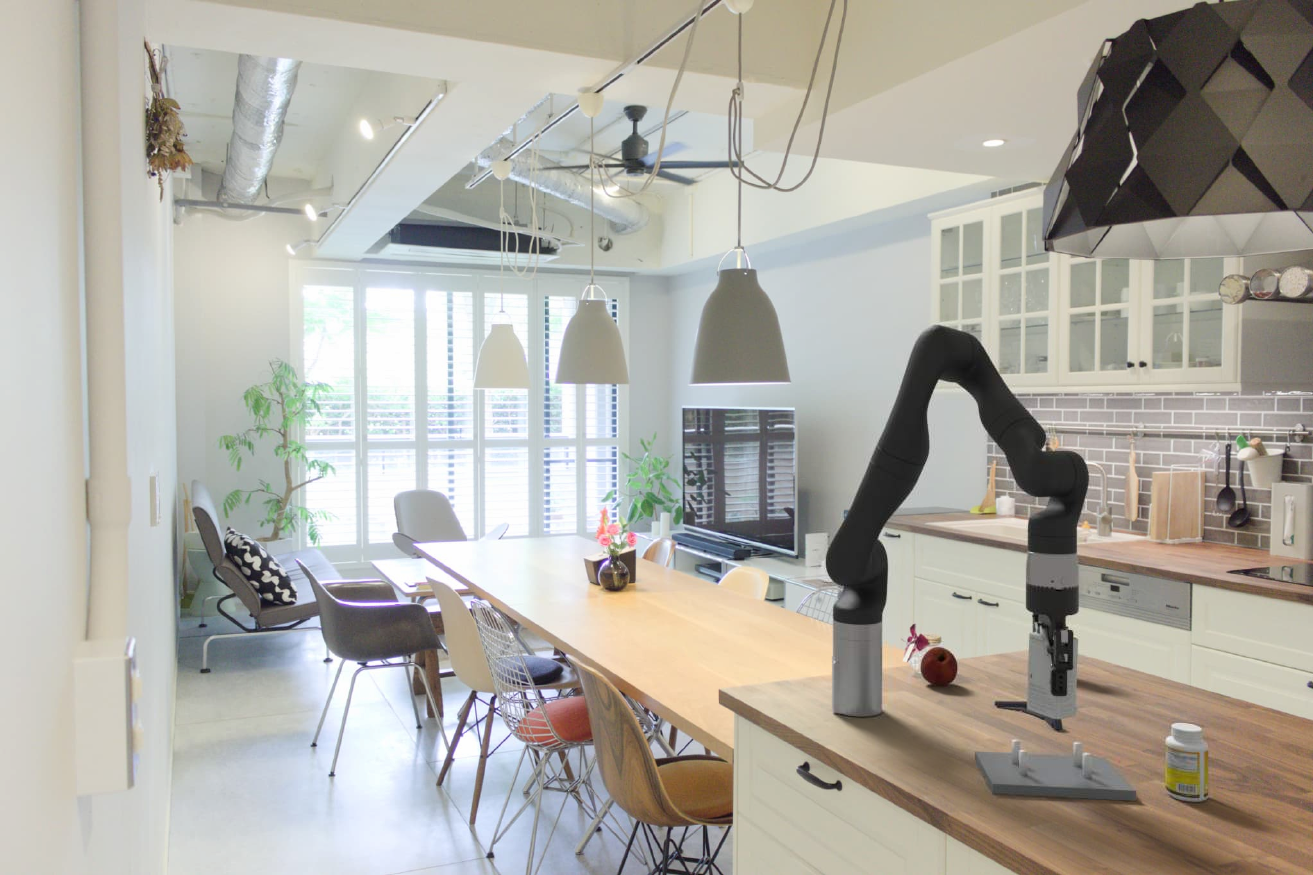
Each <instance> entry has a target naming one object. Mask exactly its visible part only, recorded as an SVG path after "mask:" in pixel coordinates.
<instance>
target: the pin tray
mask: <svg viewBox="0 0 1313 875" xmlns="http://www.w3.org/2000/svg"><path fill="white" fill-rule="evenodd" d="M974 762H975V763H976V766H977V768H978V770H979V771H980V773H981V775H982V777H983V779H984V780H985V782H986V784H987V786H988V788H989V790H990V791H991V794H992V795H1008V796H1009V795H1010V796H1031V797H1047V798H1048V797H1049V798H1050V797H1051V798H1069V799H1070V798H1071V799H1085V800H1086V799H1090V800H1107V801H1108V800H1109V801H1110V800H1111V801H1127V802H1128V801H1130V802H1131V801H1132V802H1136V800H1137V790H1136V789H1135V788H1134V787H1133V786H1132V784H1130V782H1129V781H1128V780H1127V779H1126V778H1125V777H1124V775H1122V774H1121V773H1120V772H1119V771H1118V770H1117V768H1116V767H1115V766H1114V765H1112V763H1111V762H1110V760H1108V759H1107V758H1106V757H1105V756H1093V755H1092V753H1089V752H1083V743H1082V742H1079V741H1075V742H1074V741H1073V755H1068V754H1067V755H1065V754H1064V755H1063V754H1040V753H1028V750H1026V749H1021V740H1019V739H1014V738H1013V739H1012V740H1011V752H998V751H997V752H996V751H995V752H994V751H976V750H975V751H974Z"/></svg>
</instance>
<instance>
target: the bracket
mask: <svg viewBox="0 0 1313 875" xmlns="http://www.w3.org/2000/svg"><path fill="white" fill-rule="evenodd" d="M994 706H995V707H996V708H997V709H998V708H999V709H1000V710H1001V709H1003V710H1008V711H1014V710H1015V712H1019V711H1022V712H1021V713H1023V712H1025V713H1024V714H1028V713H1030V714H1029V715H1031V716H1034V715H1035V716H1034V717H1037V718H1040V719H1041V720H1043V719H1044V720H1045V721H1046V722H1047V723H1048V724H1047V723H1046V722H1045V721H1044V720H1043V721H1044V722H1045V723H1046V724H1047V725H1048V726H1050V727H1051V729H1053V730H1054V731H1055V730H1059V731H1060V730H1062V731H1063V721H1062V719H1053V718H1050V717H1047V716H1044V715H1042V714H1039V713H1036V712H1034V711H1031V710H1028V709H1027V700H1026V701H1022V700H1021V701H1019V700H1018V701H1016V700H1015V701H1014V700H1013V701H1012V700H1011V701H1010V700H1009V701H1008V700H994ZM1059 731H1058V732H1059Z"/></svg>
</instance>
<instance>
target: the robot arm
mask: <svg viewBox="0 0 1313 875" xmlns="http://www.w3.org/2000/svg"><path fill="white" fill-rule="evenodd" d="M939 381H943V382H948V383H955V384H957V385H959V386H960V387H961V388H962V389H964V390H965V391H966V392H967V393H968V394H969V395H971V397H972V398H973V399H974V401H976V405H977V408H978V416H979V419H980V420H979V421H981V422H980V423H981V424H982V426H983V428H984V430H985V431H986V432H987V434H988V436H990V438H991V439H992V440H993V442H994V443H995V444H996V445H997V446H998V447H999V449H1000V450H1001V452H1003V453H1004V456H1005V458H1006V462H1007V465H1008V466H1009V469H1010V471H1011V474H1012V477H1013V479H1014V481H1015V483H1016V485H1017V486H1018V488H1019V489H1020V490H1022V491H1023V492H1024V493H1026V494H1027V495H1029V496H1031V497H1034V498H1049V499H1048V501H1047V505H1046V507H1045V508H1044V509H1043V510H1040V511H1038V512H1036V513H1035V512H1034V513H1033V514H1031V515H1030V516H1029V518H1028V522H1027V554H1026V560H1025V562H1026V563H1025V609H1026V610H1027V611H1028V612H1029V613H1032V615H1031V618H1032V633H1033V632H1037V633H1040V635H1041V638H1042V639H1043V644H1044V651H1045V655H1046V656H1048V657H1049V662H1050V668H1051V694H1052V695H1053V696H1066V695H1067V671H1069V670H1073V637H1074V631H1073V629H1069V626H1067V621H1065V617H1066V618H1067V617H1068V616H1075V615H1077V614H1078V613H1079V606H1080V605H1079V604H1080V597H1079V596H1080V593H1079V592H1080V588H1079V587H1080V584H1079V583H1080V573H1079V572H1080V569H1079V568H1080V567H1079V561H1078V524H1079V521H1080V518H1081V515H1082V511H1083V508H1084V503H1085V500H1086V496H1087V494H1088V489H1089V485H1090V484H1089V483H1090V474H1089V473H1090V472H1089V468H1088V465H1087V462H1086V461H1085V459H1084V458H1083V457H1082V455H1081V454H1080V453H1077V452H1076V451H1073V450H1043V449H1044V446H1045V445H1046V443H1047V434H1046V432H1045V429H1044V428H1043V426H1042V425H1041V424H1040V423H1039V422H1038V421H1037V419H1036V418H1035V417H1034V416H1032V414H1031V413H1030V412H1029V410H1028V409H1027V408H1026V407H1025V406H1024V404H1022V403H1021V401H1019V399H1018V398H1017V397H1016V396H1015V395H1014V394H1013V392H1012V391H1011V389H1010V388H1009V387H1008V385H1007V384H1006V382H1005V381H1004V379H1003V378H1002V376H1001V374H1000V373H999V371H998V369H997V368H996V366H995V365H994V363H993V361H992V359H991V358H990V355H989V354H988V352H987V351H986V349H985V348H984V345H983V344H982V343H981V341H979V339H978V338H977V337H976V336H975V335H973V334H971V333H969V332H967V331H963V330H959V329H956V328H952V327H949V326H945V325H941V324H932V325H929V326H927V327H926V328H925V329H924V330H922V332H921V333H919V336H918V337H917V339H916V340H915V343H914V345H913V346H912V350H911V352H910V355H909V357H908V362H907V364H906V369H905V371H904V374H903V377H902V380H901V384H900V387H899V390H898V393H897V396H896V398H895V401H894V404H893V407H892V409H891V411H890V414H889V416H888V419H887V421H886V423H885V426H884V429H883V431H882V433H881V435H880V437H879V439H878V441H877V444H876V446H875V448H874V451H873V453H872V454H871V458H870V460H869V463H868V465H867V468H866V470H865V473H864V475H863V478H862V480H861V482H860V484H859V486H858V490H857V491H856V493H855V496H854V497H853V498H854V499H853V501H852V504H851V506H850V508H849V510H848V512H847V514H846V515H845V518H844V520H843V521H842V523H841V524H840V526H839V529H838V530H837V531H836V534H835V535H834V537H833V539H832V540H831V542H830V545H829V546H828V549H827V552H826V555H825V568H826V573H827V575H828V577H829V578H830V579H831V581H832V582H833V583H835V584H836V585H838V586H842V592H841V594H840V596H839V598H837V600H836V601H835V603H834V604H833V606H832V656H831V706H832V712H833V713H834V714H841V715H845V716H850V717H872V716H873V717H874V716H878V715H880V714H881V713H882V712H883V614H884V610H885V607H886V604H887V600H888V583H889V578H888V577H889V559H888V553H887V550H886V548H885V546H884V544H883V542H882V541H881V540H880V539H879V537H880V535H881V533H882V531H883V529H884V527H885V525H886V523H887V522H888V521H889V519H890V518H892V516H893V515H894V513H895V512H897V510H898V509H899V508H900V506H901V505H902V504H903V503H904V502H905V501H906V499H907V498H908V497H909V495H910V494H911V493H912V491H913V490H914V488H915V486H916V485H917V483H918V481H919V479H920V476H921V475H922V472H923V470H924V467H925V465H926V463H927V461H928V459H929V454H930V443H931V442H930V432H929V431H930V430H929V423H928V409H929V404H930V401H931V398H932V396H933V394H934V391H935V388H936V386H937V384H938V382H939ZM1061 644H1063V645H1061ZM1053 645H1054V649H1051V648H1050V647H1052V646H1053ZM1059 655H1062V657H1063V662H1062V661H1059Z"/></svg>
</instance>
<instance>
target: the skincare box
mask: <svg viewBox="0 0 1313 875" xmlns="http://www.w3.org/2000/svg"><path fill="white" fill-rule="evenodd" d="M1061 645H1063V644H1061ZM1050 648H1051V649H1054V645H1053V646H1052V647H1050ZM1078 650H1079V639H1078V637H1074V636H1073V670H1069V671H1067V695H1066V696H1053V695H1052V694H1051V668H1050V662H1049V657H1048V656H1046V655H1045V651H1044V644H1043V639H1042V638H1041V635H1040V633H1037V632H1033V631H1032V632H1030V633H1029V634H1028V660H1027V661H1028V663H1027V666H1028V667H1027V693H1026V694H1027V695H1026V697H1027V699H1026V701H1027V708H1026V709H1028V710H1031V711H1034V712H1036V713H1039V714H1042V715H1044V716H1047V717H1050V718H1053V719H1061V720H1063V719H1069V718H1073V717H1075V716H1076V711H1077V710H1076V709H1077V708H1076V707H1077V706H1076V705H1077V703H1076V702H1077V686H1078V685H1077V680H1078V679H1077V678H1078V653H1079V651H1078ZM1059 661H1062V662H1063V657H1062V655H1059Z"/></svg>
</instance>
